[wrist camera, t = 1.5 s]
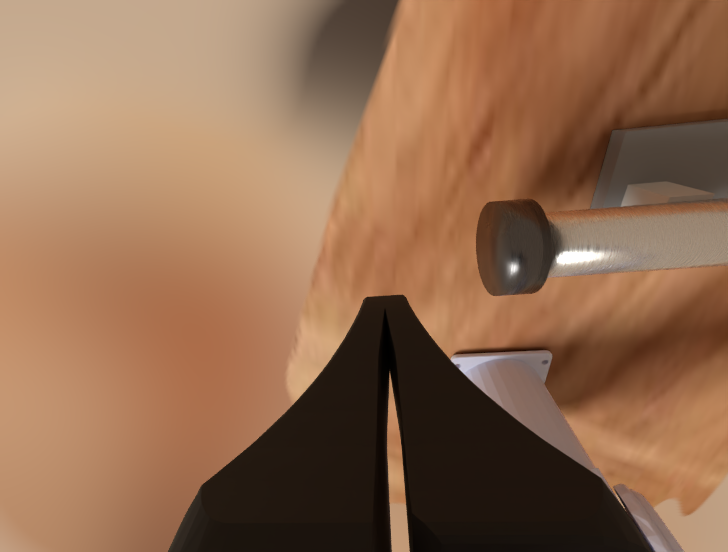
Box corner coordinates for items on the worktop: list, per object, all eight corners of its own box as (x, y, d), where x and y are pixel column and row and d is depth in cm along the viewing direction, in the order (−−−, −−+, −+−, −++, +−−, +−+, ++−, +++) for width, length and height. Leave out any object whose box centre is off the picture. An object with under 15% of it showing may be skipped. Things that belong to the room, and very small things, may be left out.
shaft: (761, 250, 16) (904, 302, 12) (471, 270, 17) (503, 324, 13) (822, 152, 14) (1032, 173, 9) (479, 183, 15) (522, 215, 11)
